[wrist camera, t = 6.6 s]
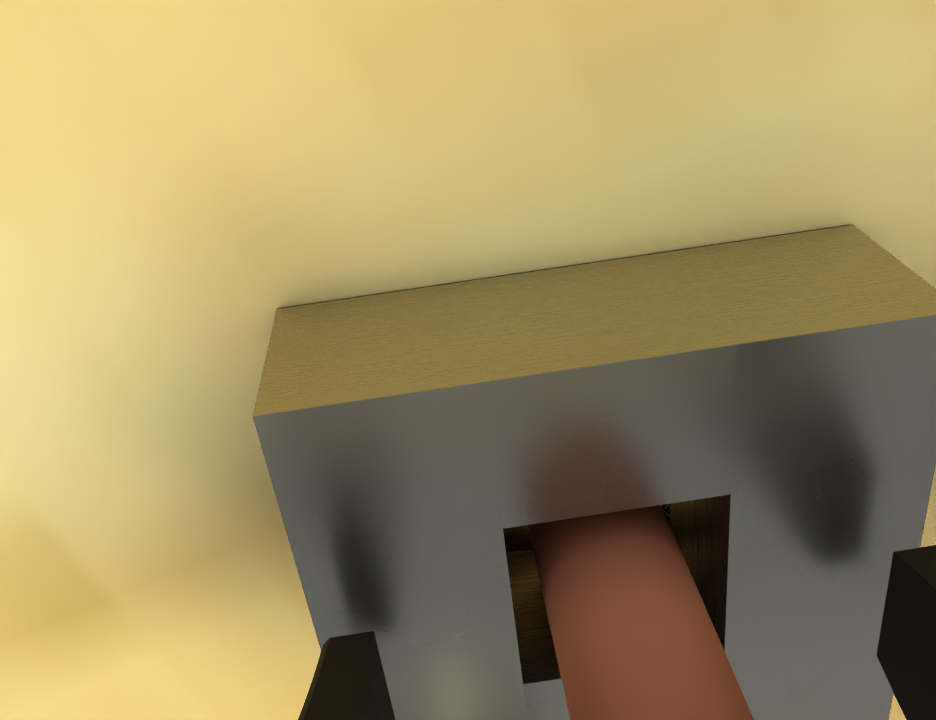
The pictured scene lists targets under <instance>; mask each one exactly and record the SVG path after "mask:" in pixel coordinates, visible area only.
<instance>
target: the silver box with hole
mask: <svg viewBox="0 0 936 720" xmlns="http://www.w3.org/2000/svg"><path fill="white" fill-rule="evenodd" d="M253 419H254V422H255V425H256V429H257V432H258V436H259V439H260V443H261V446H262V449H263V453H264V456H265V460H266V463H267V467H268V470H269V473H270V477H271V480H272V484H273V487H274V491H275V494H276V497H277V501H278V504H279V508H280V511H281V515H282V518H283V521H284V525H285V528H286V532H287V535H288V539H289V542H290V545H291V549H292V552H293V556H294V559H295V563H296V566H297V569H298V573H299V576H300V580H301V583H302V587H303V590H304V593H305V597H306V600H307V604H308V607H309V611H310V614H311V617H312V621H313V624H314V628H315V631H316V635H317V638H318V641H319V645H320V648H321V650H322V647H323V644H324V643H325V642H326V641H327V640H328V639H329V638H331V637H337V636H344V635H351V634H357V633H364V632H370V631H374V634H375V638H376V642H377V646H378V650H379V654H380V658H381V662H382V666H383V670H384V675H385V679H386V683H387V687H388V691H389V695H390V699H391V703H392V707H393V711H394V715H395V720H570V716H569V711H568V707H567V702H566V697H565V693H564V688H563V684H562V679H561V675H560V670H559V666H558V661H557V657H556V652H555V648H554V643H553V638H552V634H551V629H550V625H549V620H548V616H547V611H546V607H545V602H544V598H543V593H542V589H541V584H540V580H539V575H538V570H537V566H536V561H535V557H534V552H533V549H527V550H520V551H513V552H507V553H506V549H505V541H504V533H503V529H504V528H511V527H517V526H524V525H531V524H537V523H544V522H551V521H557V520H564V519H570V518H577V517H584V516H590V515H597V514H604V513H610V512H617V511H623V510H630V509H637V508H643V507H650V506H657V505H663V504H670V527H671V529H672V531H673V534H674V536H675V538H676V541H677V543H678V545H679V547H680V550H681V552H682V554H683V557H684V559H685V561H686V564H687V566H688V568H689V571H690V573H691V575H692V577H693V580H694V582H695V584H696V587H697V589H698V591H699V594H700V596H701V598H702V601H703V603H704V605H705V607H706V610H707V612H708V614H709V617H710V619H711V621H712V624H713V626H714V628H715V631H716V633H717V635H718V637H719V640H720V642H721V644H722V647H723V649H724V651H725V654H726V656H727V658H728V661H729V663H730V665H731V667H732V670H733V672H734V674H735V677H736V679H737V681H738V684H739V686H740V688H741V691H742V693H743V695H744V697H745V700H746V702H747V704H748V707H749V709H750V711H751V714H752V716H753V718H754V720H888V719H889V714H890V709H891V703H892V698H893V690H892V688H891V686H890V684H889V682H888V679H887V677H886V675H885V673H884V671H883V668H882V666H881V664H880V662H879V660H878V657H877V648H878V642H879V636H880V630H881V624H882V618H883V612H884V606H885V600H886V594H887V588H888V581H889V575H890V569H891V563H892V557H893V552H895V551H901V550H908V549H915V548H920V545H921V540H922V534H923V529H924V523H925V518H926V512H927V507H928V502H929V496H930V491H931V485H932V480H933V474H934V469H935V463H936V289H935V288H933V287H932V286H931V285H929V284H928V283H927V282H926V281H924V280H923V279H922V278H920V277H919V276H918V275H917V274H915V273H914V272H913V271H911V270H910V269H909V268H908V267H906V266H905V265H904V264H902V263H901V262H900V261H899V260H897V259H896V258H895V257H893V256H892V255H891V254H890V253H888V252H887V251H886V250H884V249H883V248H882V247H881V246H879V245H878V244H877V243H875V242H874V241H873V240H872V239H870V238H869V237H868V236H866V235H865V234H864V233H863V232H861V231H860V230H859V229H857V228H856V227H855V226H854V225H848V226H841V227H835V228H828V229H821V230H814V231H807V232H800V233H794V234H787V235H780V236H773V237H766V238H759V239H753V240H746V241H739V242H732V243H725V244H718V245H712V246H705V247H698V248H691V249H684V250H677V251H671V252H664V253H657V254H650V255H643V256H636V257H630V258H623V259H616V260H609V261H602V262H595V263H589V264H582V265H575V266H568V267H561V268H554V269H548V270H541V271H534V272H527V273H520V274H513V275H507V276H500V277H493V278H486V279H479V280H472V281H466V282H459V283H452V284H445V285H438V286H431V287H425V288H418V289H411V290H404V291H397V292H391V293H384V294H377V295H370V296H363V297H356V298H350V299H343V300H336V301H329V302H322V303H315V304H309V305H302V306H295V307H288V308H281V309H277V312H276V316H275V321H274V325H273V329H272V334H271V338H270V343H269V347H268V351H267V356H266V360H265V365H264V369H263V374H262V378H261V382H260V387H259V391H258V396H257V400H256V405H255V409H254V413H253Z"/></svg>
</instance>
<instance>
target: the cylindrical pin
mask: <svg viewBox="0 0 936 720" xmlns="http://www.w3.org/2000/svg"><path fill="white" fill-rule="evenodd" d="M528 530H529V534H530V539H531V543H532V548H533V552H534V557H535V561H536V566H537V570H538V575H539V580H540V584H541V589H542V593H543V598H544V602H545V607H546V611H547V616H548V620H549V625H550V629H551V634H552V638H553V643H554V648H555V652H556V657H557V661H558V666H559V670H560V675H561V679H562V684H563V688H564V693H565V697H566V702H567V707H568V711H569V716H570V720H754V718H753V716H752V714H751V711H750V709H749V707H748V704H747V702H746V700H745V697H744V695H743V693H742V691H741V688H740V686H739V684H738V681H737V679H736V677H735V674H734V672H733V670H732V667H731V665H730V663H729V661H728V658H727V656H726V654H725V651H724V649H723V647H722V644H721V642H720V640H719V637H718V635H717V633H716V631H715V628H714V626H713V624H712V621H711V619H710V617H709V614H708V612H707V610H706V607H705V605H704V603H703V601H702V598H701V596H700V594H699V591H698V589H697V587H696V584H695V582H694V580H693V577H692V575H691V573H690V571H689V568H688V566H687V564H686V561H685V559H684V557H683V554H682V552H681V550H680V547H679V545H678V543H677V541H676V538H675V536H674V534H673V531H672V529H671V527H670V524H669V522H668V520H667V517H666V515H665V513H664V511H663V508H662V506H661V505H657V506H650V507H643V508H637V509H630V510H623V511H617V512H610V513H604V514H597V515H590V516H584V517H577V518H570V519H564V520H557V521H551V522H544V523H537V524H531V525H528Z"/></svg>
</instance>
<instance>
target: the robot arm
mask: <svg viewBox="0 0 936 720" xmlns="http://www.w3.org/2000/svg"><path fill="white" fill-rule="evenodd" d="M877 657H878V660H879V662H880V664H881V666H882V668H883V671H884V673H885V675H886V677H887V679H888V682H889V684H890V686H891V688H892V690H893V693H894V695H895V697H896V699H897V701H898V703H899V705H900V707H901V709H902V711H903V713H904V715H905V717H906V719H907V720H936V545H934V546H928V547H921V548H915V549H908V550H901V551H895V552H893V557H892V563H891V569H890V575H889V581H888V588H887V594H886V600H885V606H884V612H883V618H882V624H881V630H880V636H879V642H878V648H877ZM298 720H395V715H394V711H393V707H392V703H391V699H390V695H389V691H388V687H387V683H386V679H385V675H384V670H383V666H382V662H381V658H380V654H379V650H378V646H377V642H376V638H375V634H374V631H370V632H364V633H357V634H351V635H344V636H337V637H331V638H329V639H328V640H327V641H326V642H325V643H324V644H323V647H322V650H321V654H320V658H319V661H318V664H317V668H316V671H315V674H314V677H313V680H312V683H311V686H310V689H309V692H308V695H307V697H306V700H305V703H304V706H303V708H302V711H301V714H300V716H299V719H298Z"/></svg>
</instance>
